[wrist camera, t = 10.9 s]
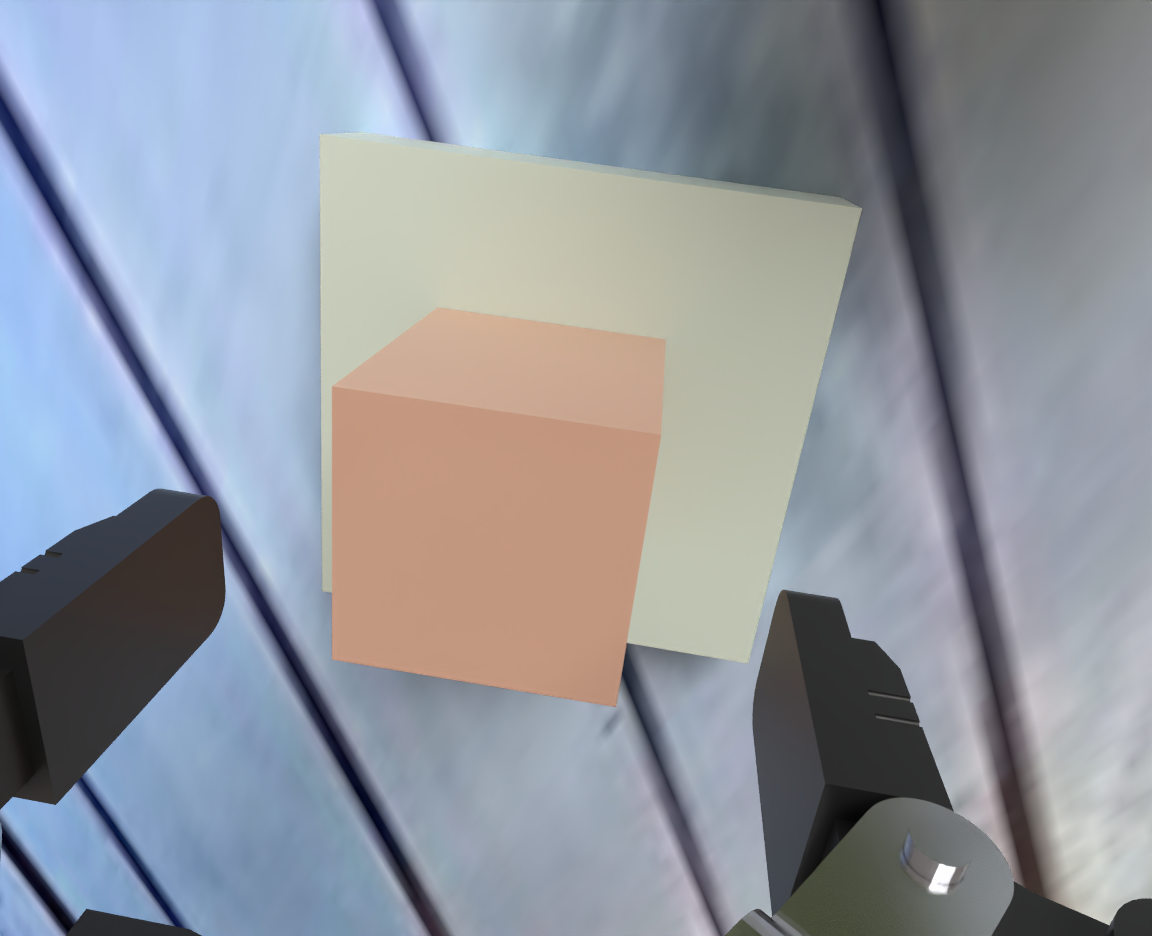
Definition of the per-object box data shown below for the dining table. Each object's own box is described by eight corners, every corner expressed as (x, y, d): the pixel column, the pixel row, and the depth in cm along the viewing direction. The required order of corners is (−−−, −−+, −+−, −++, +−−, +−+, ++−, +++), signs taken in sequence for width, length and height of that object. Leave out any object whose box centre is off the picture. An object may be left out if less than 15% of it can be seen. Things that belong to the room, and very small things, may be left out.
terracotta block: (437, 307, 18) (331, 386, 12) (665, 339, 18) (661, 434, 12) (427, 512, 20) (331, 660, 14) (632, 544, 20) (616, 706, 14)
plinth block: (369, 131, 20) (319, 134, 17) (835, 194, 19) (862, 208, 16) (362, 536, 24) (321, 590, 21) (740, 599, 23) (747, 663, 21)
